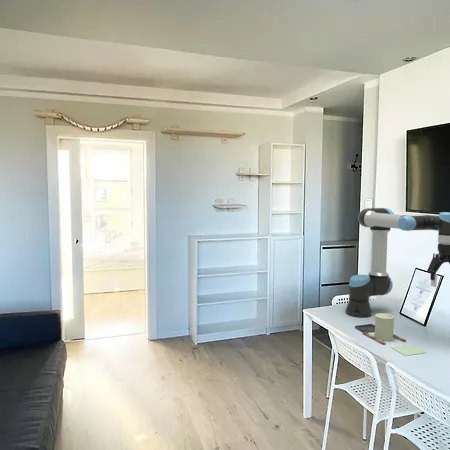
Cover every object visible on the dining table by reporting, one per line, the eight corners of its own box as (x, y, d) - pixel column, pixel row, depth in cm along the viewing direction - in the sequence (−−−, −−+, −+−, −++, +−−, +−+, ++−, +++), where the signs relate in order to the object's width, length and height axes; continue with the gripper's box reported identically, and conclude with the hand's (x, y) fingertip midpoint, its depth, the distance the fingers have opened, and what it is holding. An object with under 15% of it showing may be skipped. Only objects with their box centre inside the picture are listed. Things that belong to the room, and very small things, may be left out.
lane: (362, 333, 210) (362, 332, 210) (384, 331, 215) (384, 329, 215) (383, 344, 195) (383, 343, 195) (406, 341, 199) (406, 340, 199)
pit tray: (354, 328, 219) (355, 325, 219) (371, 326, 222) (371, 323, 222) (364, 333, 211) (364, 330, 211) (381, 331, 215) (381, 328, 214)
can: (396, 340, 201) (397, 317, 200) (379, 341, 200) (380, 318, 199) (388, 334, 210) (389, 312, 209) (371, 334, 209) (372, 312, 208)
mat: (390, 347, 192) (390, 347, 192) (410, 344, 195) (410, 344, 195) (405, 355, 182) (405, 355, 182) (426, 352, 186) (426, 352, 186)
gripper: (432, 245, 190) (430, 289, 191) (472, 243, 197) (469, 285, 199) (420, 243, 197) (418, 285, 198) (459, 241, 204) (456, 282, 206)
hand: (444, 285), depth 199 cm, fingers open, 13 cm apart
